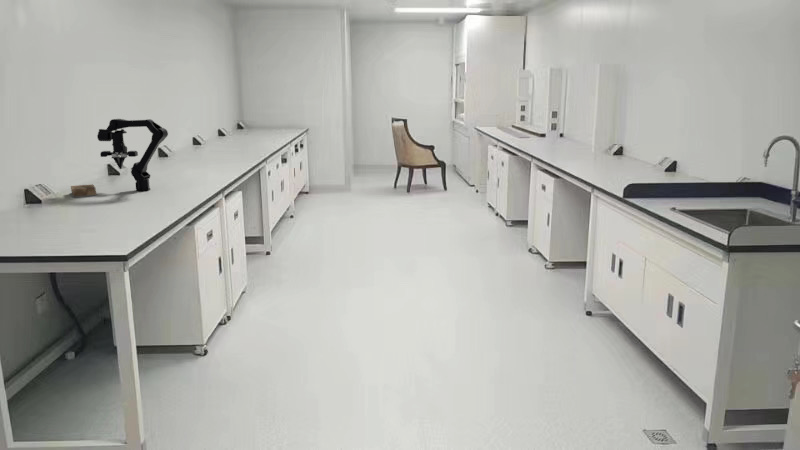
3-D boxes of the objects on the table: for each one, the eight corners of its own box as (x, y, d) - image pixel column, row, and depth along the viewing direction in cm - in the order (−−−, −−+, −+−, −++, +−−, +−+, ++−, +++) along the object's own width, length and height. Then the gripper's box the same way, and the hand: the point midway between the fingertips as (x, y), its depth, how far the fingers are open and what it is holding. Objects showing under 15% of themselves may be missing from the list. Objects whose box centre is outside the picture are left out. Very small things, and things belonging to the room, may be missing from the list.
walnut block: (92, 184, 347) (70, 185, 341) (95, 187, 337) (73, 189, 331) (93, 191, 347) (71, 193, 342) (96, 194, 338) (73, 196, 332)
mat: (91, 192, 348) (91, 191, 348) (95, 195, 336) (95, 195, 336) (69, 193, 342) (69, 193, 342) (72, 197, 331) (72, 196, 331)
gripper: (139, 140, 359) (141, 166, 363) (105, 140, 357) (108, 167, 360) (133, 141, 348) (136, 169, 352) (98, 142, 346) (101, 169, 349)
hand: (120, 168), depth 354 cm, fingers closed
